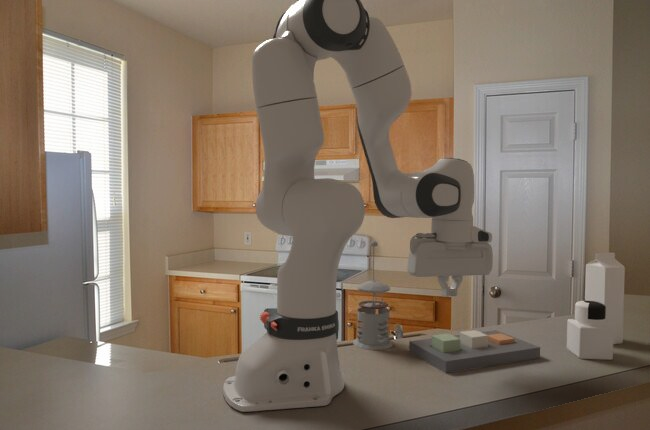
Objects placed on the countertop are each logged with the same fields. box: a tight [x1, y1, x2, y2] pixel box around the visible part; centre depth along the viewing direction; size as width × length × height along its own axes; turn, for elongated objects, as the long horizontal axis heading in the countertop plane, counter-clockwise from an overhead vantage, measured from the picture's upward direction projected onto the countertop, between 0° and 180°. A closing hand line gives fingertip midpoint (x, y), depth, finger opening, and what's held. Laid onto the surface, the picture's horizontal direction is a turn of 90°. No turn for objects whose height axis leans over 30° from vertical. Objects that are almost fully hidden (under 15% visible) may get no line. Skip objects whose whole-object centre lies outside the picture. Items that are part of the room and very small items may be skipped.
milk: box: [584, 252, 626, 345], centre depth 117 cm, size 6×6×22 cm
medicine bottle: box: [566, 300, 614, 361], centre depth 107 cm, size 7×7×12 cm
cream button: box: [459, 329, 488, 349], centre depth 107 cm, size 4×4×3 cm
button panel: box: [408, 330, 541, 374], centre depth 107 cm, size 25×14×2 cm, turn 111°
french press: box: [352, 240, 394, 351], centre depth 115 cm, size 10×12×25 cm
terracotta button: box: [488, 333, 514, 345], centre depth 109 cm, size 4×4×3 cm
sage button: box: [431, 333, 460, 353], centre depth 104 cm, size 4×4×3 cm
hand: (449, 296), depth 104 cm, fingers closed
